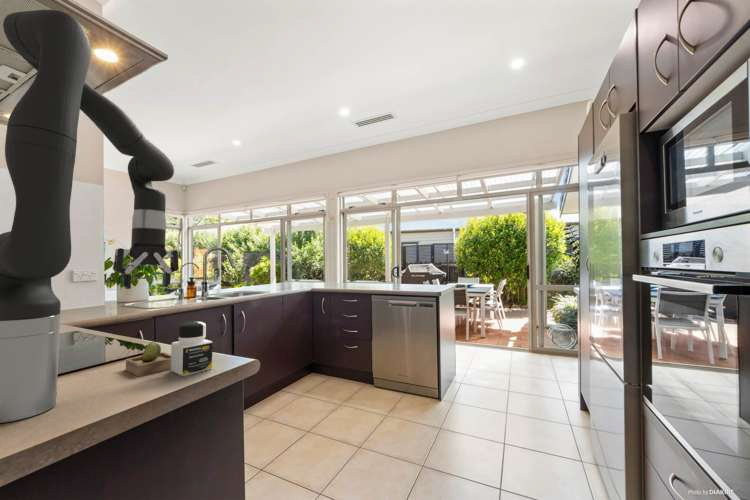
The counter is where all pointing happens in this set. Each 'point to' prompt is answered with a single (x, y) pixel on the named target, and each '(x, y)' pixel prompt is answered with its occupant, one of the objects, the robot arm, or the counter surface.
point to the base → (148, 365)
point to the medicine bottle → (191, 350)
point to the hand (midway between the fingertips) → (147, 287)
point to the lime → (151, 352)
